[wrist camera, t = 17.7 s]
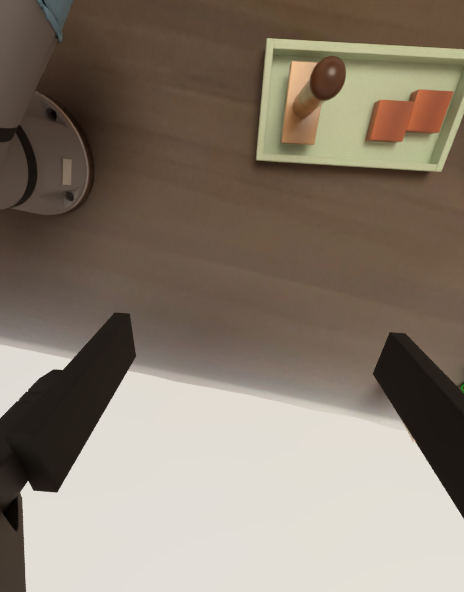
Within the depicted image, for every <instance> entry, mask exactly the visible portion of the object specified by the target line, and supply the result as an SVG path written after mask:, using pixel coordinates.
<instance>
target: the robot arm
mask: <svg viewBox="0 0 464 592" xmlns="http://www.w3.org/2000/svg"><path fill="white" fill-rule="evenodd" d="M72 2H73V0H0V210H2V209H8V208H12V209H16V210H21V211H26V212H31V213H35V214H41V215H56V214H61V213H65V212H68V211H71V210H73V209H75V208H77V207H78V206H80V205H81V204H82V203H83V202H84V201H85V199H86V198H87V197H88V195H89V193H90V190H91V188H92V184H93V178H94V164H93V158H92V153H91V150H90V147H89V144H88V142H87V139H86V137H85V135H84V133H83V132H82V130H81V128H80V127H79V125H78V124H77V122H76V121H75V120H74V118H73V117H72V116H71V115H70V114H69V113H68V111H66V110H65V109H64V108H63V107H62V106H61V105H60V104H59V103H57V102H56V101H55V100H53V99H52V98H50V97H48V96H47V95H45V94H43V93H40V92H38V91H35V90H36V88H37V86H38V83H39V81H40V79H41V77H42V75H43V73H44V70H45V68H46V66H47V64H48V62H49V60H50V57H51V55H52V53H53V51H54V49H55V46H56V44H57V42H60V43H61V41H62V39H63V34H62V29H63V26H64V23H65V21H66V18H67V15H68V13H69V10H70V7H71V5H72ZM135 357H136V353H135V346H134V340H133V333H132V326H131V319H130V314H127V313H114V314H113V315H112V316H111V317H110V319H109V320H108V321H107V322H106V323H105V324H104V325H103V326H102V327H101V328H100V330H99V331H98V332H97V333H96V334H95V335H94V336H93V337H92V338H91V340H90V341H89V342H88V343H87V344H86V345H85V346H84V347H83V348H82V350H81V351H80V352H79V353H78V354H77V355H76V356H75V357H74V358H73V360H72V361H71V362H70V363H69V364H68V365H67V366H66V367H65V368H64V369H63V370H52V371H50V372H49V373H47V374H46V375H44V376H43V377H41V378H39V379H38V380H37V381H36V383H34V384H33V386H32V387H31V388H30V389H29V390H28V392H26V393H25V394H24V395H23V396H22V397H21V398H20V399H19V401H18V402H16V403H15V404H14V405H13V406H12V407H11V408H10V409H9V410H8V411H7V412H6V413H5V414H4V415H3V416H2V417H1V418H0V592H26V584H25V560H24V535H23V510H22V497H21V494H20V492H21V490H22V489H23V487H24V486H25V484H26V483H27V481H29V483H30V484H31V486H32V488H33V490H34V491H46V492H58V490H59V488H60V487H61V485H62V483H63V481H64V479H65V478H66V476H67V475H68V473H69V471H70V469H71V467H72V466H73V464H74V462H75V461H76V459H77V457H78V455H79V454H80V452H81V450H82V449H83V447H84V445H85V443H86V442H87V440H88V438H89V436H90V435H91V433H92V431H93V430H94V428H95V426H96V424H97V423H98V421H99V419H100V417H101V415H102V414H103V412H104V411H105V409H106V407H107V405H108V404H109V402H110V400H111V399H112V397H113V395H114V393H115V392H116V390H117V388H118V386H119V385H120V383H121V381H122V380H123V378H124V376H125V374H126V373H127V371H128V369H129V367H130V366H131V364H132V362H133V361H134V359H135ZM373 375H374V376H375V378H376V380H377V381H378V383H379V384H380V386H381V388H382V389H383V391H384V392H385V394H386V396H387V397H388V399H389V400H390V402H391V403H392V405H393V407H394V408H395V410H396V411H397V413H398V415H399V416H400V418H401V419H402V421H403V423H404V424H405V426H406V427H407V429H408V431H409V432H410V434H411V435H412V437H413V439H414V440H415V442H416V443H417V445H418V446H419V448H420V450H421V451H422V453H423V454H424V456H425V458H426V459H427V461H428V462H429V464H430V465H431V467H432V469H433V470H434V472H435V474H436V475H437V477H438V478H439V480H440V481H441V483H442V485H443V486H444V488H445V489H446V491H447V493H448V494H449V496H450V497H451V499H452V501H453V502H454V504H455V505H456V507H457V509H458V510H459V512H460V513H461V515H462V517H463V518H464V393H463V392H462V391H461V390H460V389H459V388H458V387H457V386H456V385H455V384H454V383H453V382H452V381H451V380H450V379H449V378H448V377H447V376H446V375H445V374H444V373H443V372H442V371H441V370H440V369H439V368H438V366H437V365H436V364H435V363H434V362H433V361H432V360H431V359H430V358H429V357H428V356H427V355H426V354H425V353H424V352H423V351H422V350H421V349H420V348H419V347H418V346H417V345H416V344H415V343H414V342H413V341H412V340H411V339H410V338H409V337H408V336H407V335H406V334H405V333H392V332H390V333H389V336H388V338H387V340H386V343H385V345H384V348H383V350H382V353H381V355H380V358H379V360H378V362H377V365H376V367H375V370H374V372H373Z"/></svg>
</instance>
